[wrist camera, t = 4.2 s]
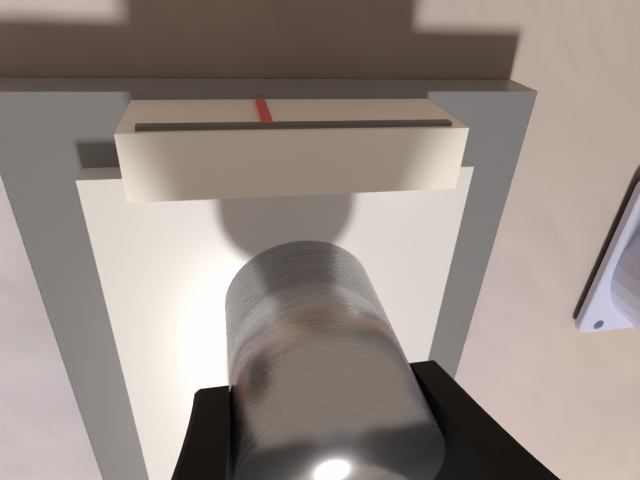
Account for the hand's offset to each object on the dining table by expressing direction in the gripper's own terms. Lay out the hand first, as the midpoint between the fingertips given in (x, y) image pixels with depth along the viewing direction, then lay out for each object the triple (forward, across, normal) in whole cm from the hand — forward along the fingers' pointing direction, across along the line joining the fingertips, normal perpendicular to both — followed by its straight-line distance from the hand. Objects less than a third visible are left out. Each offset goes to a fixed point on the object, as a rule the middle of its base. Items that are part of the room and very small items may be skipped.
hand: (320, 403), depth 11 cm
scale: (+7, 0, +3) cm, 8 cm away
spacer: (+3, 0, -1) cm, 3 cm away
